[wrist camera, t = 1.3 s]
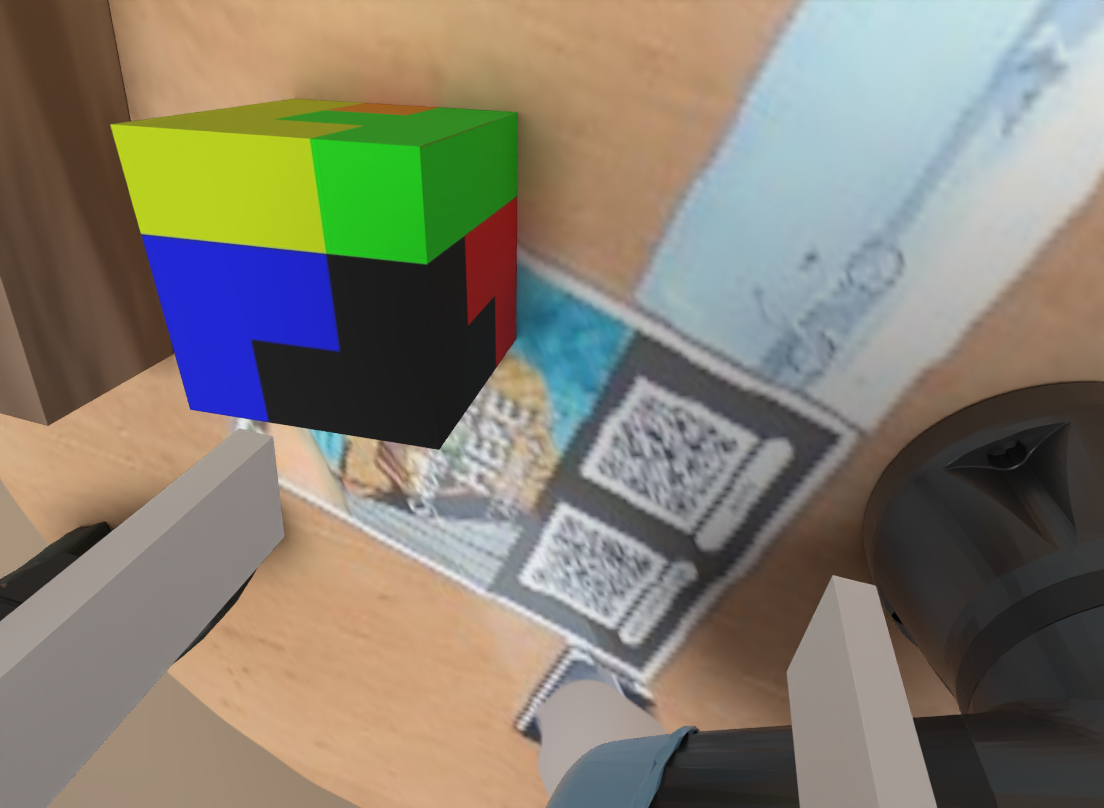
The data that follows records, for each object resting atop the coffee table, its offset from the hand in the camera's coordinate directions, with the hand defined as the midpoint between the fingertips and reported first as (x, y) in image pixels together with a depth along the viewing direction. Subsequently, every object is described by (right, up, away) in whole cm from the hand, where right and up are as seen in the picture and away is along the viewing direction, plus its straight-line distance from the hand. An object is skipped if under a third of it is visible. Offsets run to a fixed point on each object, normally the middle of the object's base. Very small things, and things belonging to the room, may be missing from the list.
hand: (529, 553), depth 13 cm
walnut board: (-21, +15, +19) cm, 32 cm away
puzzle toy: (-6, +11, +17) cm, 21 cm away
